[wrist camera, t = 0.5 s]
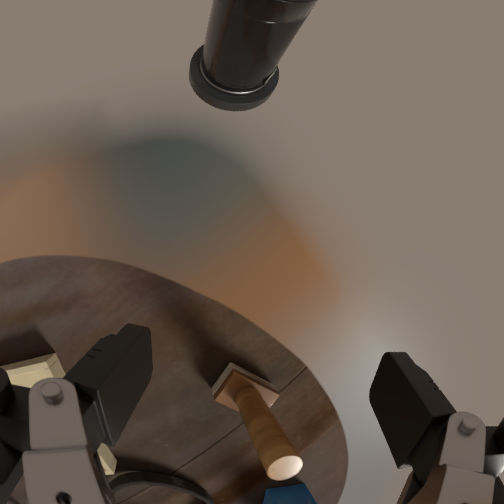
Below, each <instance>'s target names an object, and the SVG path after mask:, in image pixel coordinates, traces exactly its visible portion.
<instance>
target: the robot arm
mask: <svg viewBox="0 0 504 504" xmlns="http://www.w3.org/2000/svg"><path fill="white" fill-rule="evenodd" d="M317 1H318V0H213V4H212V8H211V13H210V18H209V22H208V28H207V33H206V38H205V44H204V48H203V54H202V57H201V61H200V72H201V75H202V77H203V78H204V80H205V81H206V82H207V83H208V84H209V85H210V86H211V87H213V88H214V89H216V90H217V91H220V92H222V93H225V94H229V95H236V96H243V95H249V94H253V93H255V92H258V91H259V90H261V89H262V88H263V87H264V86H265V85H266V84H267V82H268V81H269V79H270V77H271V76H272V75H273V74H274V72H275V71H276V70H275V71H274V69H275V68H276V66H277V64H278V63H279V61H280V59H281V58H282V56H283V54H284V52H285V51H286V49H287V48H288V46H289V45H290V43H291V41H292V40H293V38H294V36H295V35H296V33H297V32H298V30H299V29H300V27H301V26H302V24H303V22H304V21H305V19H306V18H307V16H308V15H309V13H310V12H311V10H312V9H313V7H314V6H315V4H316V3H317ZM273 71H274V72H273ZM272 73H273V74H272ZM271 74H272V75H271ZM152 369H153V364H152V348H151V332H150V329H149V328H148V327H144V326H139V325H134V324H129V323H128V324H126V325H125V326H124V327H123V328H122V329H121V330H120V331H119V332H118V334H117V335H115V334H111V335H109V336H106V337H104V338H102V339H100V340H99V341H98V342H97V343H96V344H95V345H94V346H93V347H92V349H90V350H89V351H88V352H87V353H86V355H85V356H83V357H82V358H81V359H80V360H79V361H78V362H77V363H76V364H75V366H74V367H73V368H72V369H71V370H70V371H69V372H68V373H67V374H66V375H65V376H64V377H63V378H56V377H51V378H45V379H42V380H40V381H38V382H36V383H35V384H34V385H33V386H32V387H31V388H29V387H23V386H18V385H14V384H11V382H10V379H9V376H8V374H7V372H6V371H5V370H4V369H3V368H1V367H0V504H6V502H7V500H8V499H9V497H10V495H11V493H12V492H13V490H14V488H15V486H16V485H17V483H18V481H19V480H20V478H21V476H22V475H23V473H24V480H25V487H26V493H27V499H28V504H117V502H116V500H115V497H114V495H113V493H112V490H111V488H110V485H109V482H108V480H107V477H106V474H105V472H104V469H103V466H102V463H101V460H100V457H99V454H98V452H97V450H98V448H99V446H100V445H101V443H103V444H106V445H109V446H112V447H114V446H115V444H116V442H117V441H118V439H119V437H120V435H121V433H122V431H123V429H124V428H125V426H126V424H127V422H128V420H129V418H130V416H131V415H132V413H133V411H134V409H135V407H136V405H137V404H138V402H139V400H140V398H141V396H142V395H143V393H144V391H145V389H146V387H147V385H148V384H149V382H150V379H151V376H152ZM369 395H370V396H369V398H370V404H371V406H372V408H373V411H374V413H375V415H376V417H377V420H378V422H379V424H380V427H381V429H382V431H383V433H384V436H385V438H386V441H387V443H388V445H389V448H390V450H391V453H392V455H393V458H394V460H395V463H396V465H397V468H398V469H400V468H405V467H410V466H412V468H413V471H412V472H411V473H410V475H409V477H408V479H407V481H406V484H405V486H404V488H403V491H402V493H401V495H400V497H399V499H398V502H397V504H504V485H503V483H502V481H501V480H500V478H499V474H500V473H501V472H502V471H503V470H504V418H503V419H502V421H501V423H500V424H499V426H495V427H493V426H491V427H490V426H488V427H487V426H485V425H484V423H483V422H482V420H481V419H479V418H478V417H477V416H475V415H473V414H471V413H468V412H456V410H455V409H454V408H453V406H452V405H451V404H450V402H449V401H448V400H447V398H446V397H445V396H444V394H443V393H442V391H441V390H439V388H438V386H437V385H436V384H435V383H433V380H432V378H431V377H430V376H429V375H428V373H427V372H426V371H424V370H423V369H421V368H420V367H419V366H417V365H416V364H415V363H414V362H413V360H412V359H411V358H410V357H409V355H408V354H407V353H406V352H386V353H385V354H384V355H383V356H382V359H381V362H380V364H379V367H378V370H377V372H376V375H375V377H374V380H373V383H372V385H371V388H370V393H369Z"/></svg>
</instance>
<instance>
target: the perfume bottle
mask: <svg viewBox="0 0 504 504" xmlns="http://www.w3.org/2000/svg"><path fill="white" fill-rule="evenodd" d="M263 504H317V502H316V501H315V499H314V498H313V496H312V495H311V493H310V492H309V490H308V489H307V487H306V485H305V484H298V485H292V486H285V487H278V488H270V489H266V493H265V497H264V500H263Z"/></svg>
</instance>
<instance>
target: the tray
mask: <svg viewBox="0 0 504 504" xmlns="http://www.w3.org/2000/svg"><path fill="white" fill-rule="evenodd" d="M0 367H1V368H3V369H4V370H5V371H6V372H7V374H8V376H9V379H10V382H11V384H14V385H18V386H23V387H29V388H31V387H32V386H33V385H34V384H35V383H36V382H38V381H40V380H42V379H45V378H51V377H56V378H63V377H64V376H65V375H66V374H65V372H64V370H63V368H62V366H61V364H60V361H59V359H58V357H57V355H56V353H53V354H49V355H45V356H41V357H37V358H33V359H29V360H25V361H20V362H16V363H12V364H8V365H3V366H0ZM97 452H98V454H99V457H100V460H101V463H102V466H103V469H104V472H105V474H106V475H111V474H114V473H115V468H116V463H117V460H116V458H115V457H114V456H113V454H112V453H111V451H110V450H109V448H108V447H107V445H106V444H103V443H101V445H100V446H99V448H98V450H97Z"/></svg>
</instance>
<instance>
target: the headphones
mask: <svg viewBox="0 0 504 504" xmlns="http://www.w3.org/2000/svg"><path fill="white" fill-rule="evenodd" d="M140 484H147V485H155V486H164V487H169V488H174V489H177V490H180V491H183V492H186V493H188V494H191V495H193V496H195V497H197V498H198V499H200V500H202V501H204V502H205V503H206V504H214V502H213V500H212V497H211V496H210V495H209V494H208V493H207V492H206V491H205V490H204V489H202V488H200V487H198V486H197V485H195V484H193V483H191V482H189V481H186V480H184V479H181V478H178V477H176V476H172V475H167V474H162V473H153V472H146V471H139V472H130V473H126V474H123V475H120V476H118V477H117V478H115V479H114V480H112V481H111V482H110V483H109V485H110V488H111V490H112V493H113V494H114V493H115V492H117V491H118V490H120V489H122V488H124V487H128V486H131V485H140Z"/></svg>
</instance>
